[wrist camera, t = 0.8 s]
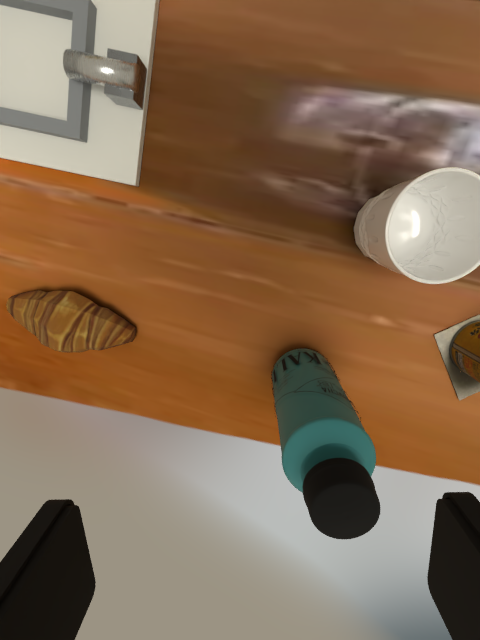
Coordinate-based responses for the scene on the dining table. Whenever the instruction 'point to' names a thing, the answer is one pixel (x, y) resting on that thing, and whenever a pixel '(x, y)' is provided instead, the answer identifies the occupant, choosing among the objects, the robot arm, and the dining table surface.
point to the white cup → (424, 226)
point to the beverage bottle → (324, 445)
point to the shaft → (110, 74)
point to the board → (71, 85)
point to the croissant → (69, 321)
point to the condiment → (462, 355)
